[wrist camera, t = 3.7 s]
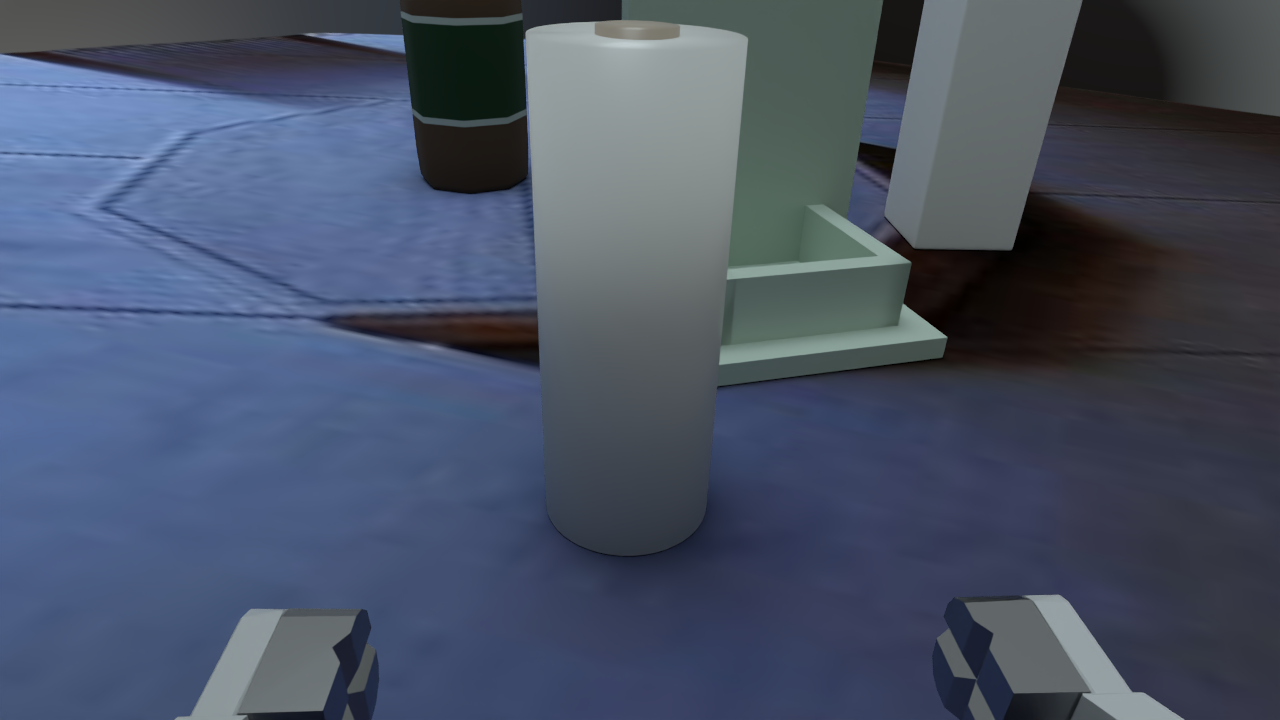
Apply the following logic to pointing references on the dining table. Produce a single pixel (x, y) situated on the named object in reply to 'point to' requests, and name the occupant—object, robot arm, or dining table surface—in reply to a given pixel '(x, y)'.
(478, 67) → the beer bottle
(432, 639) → the dining table surface
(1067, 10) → the milk
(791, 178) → the holder
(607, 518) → the roll
